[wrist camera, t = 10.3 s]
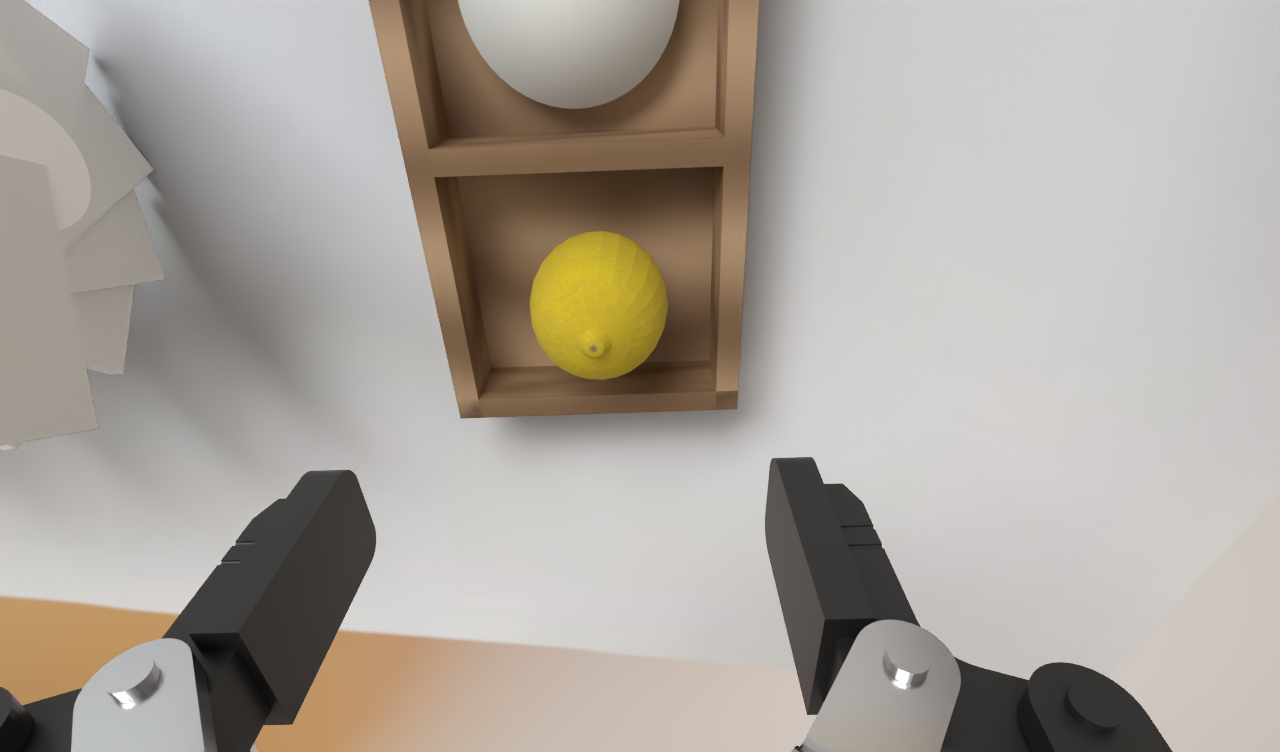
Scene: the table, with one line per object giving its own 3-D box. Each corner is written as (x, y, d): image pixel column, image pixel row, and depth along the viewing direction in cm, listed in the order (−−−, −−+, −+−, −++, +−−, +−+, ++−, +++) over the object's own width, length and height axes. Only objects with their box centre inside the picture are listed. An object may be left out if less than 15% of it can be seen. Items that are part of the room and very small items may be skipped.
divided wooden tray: (363, -215, 20) (311, -261, 17) (751, -232, 20) (774, -282, 17) (478, 377, 32) (460, 418, 29) (726, 368, 32) (736, 408, 28)
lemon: (614, 184, 26) (609, 241, 19) (686, 281, 28) (703, 364, 22) (518, 256, 28) (480, 334, 21) (593, 343, 30) (581, 439, 23)
